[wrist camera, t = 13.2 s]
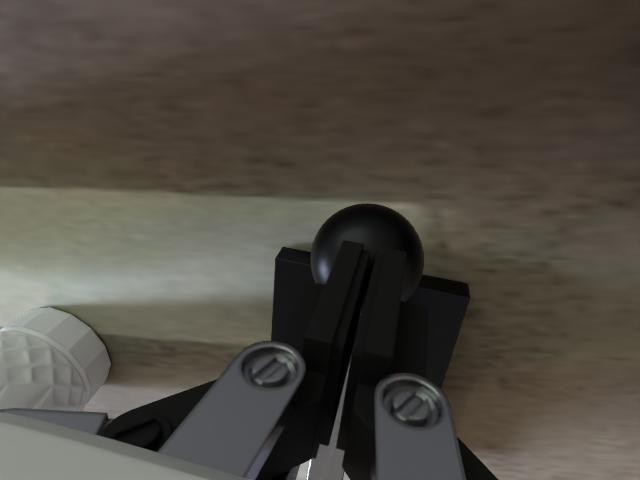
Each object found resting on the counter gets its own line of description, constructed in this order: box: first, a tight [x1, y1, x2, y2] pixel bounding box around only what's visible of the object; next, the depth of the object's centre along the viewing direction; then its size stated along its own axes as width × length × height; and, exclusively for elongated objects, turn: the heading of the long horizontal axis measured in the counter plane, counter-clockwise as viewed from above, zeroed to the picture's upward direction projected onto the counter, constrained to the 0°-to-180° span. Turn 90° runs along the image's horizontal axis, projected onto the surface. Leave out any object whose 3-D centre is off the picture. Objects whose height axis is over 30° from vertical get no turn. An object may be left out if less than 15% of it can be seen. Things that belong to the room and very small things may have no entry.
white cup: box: [0, 307, 111, 412], centre depth 25 cm, size 8×8×10 cm
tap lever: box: [306, 204, 424, 480], centre depth 14 cm, size 14×3×3 cm, turn 175°
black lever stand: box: [271, 247, 470, 480], centre depth 18 cm, size 12×9×13 cm
